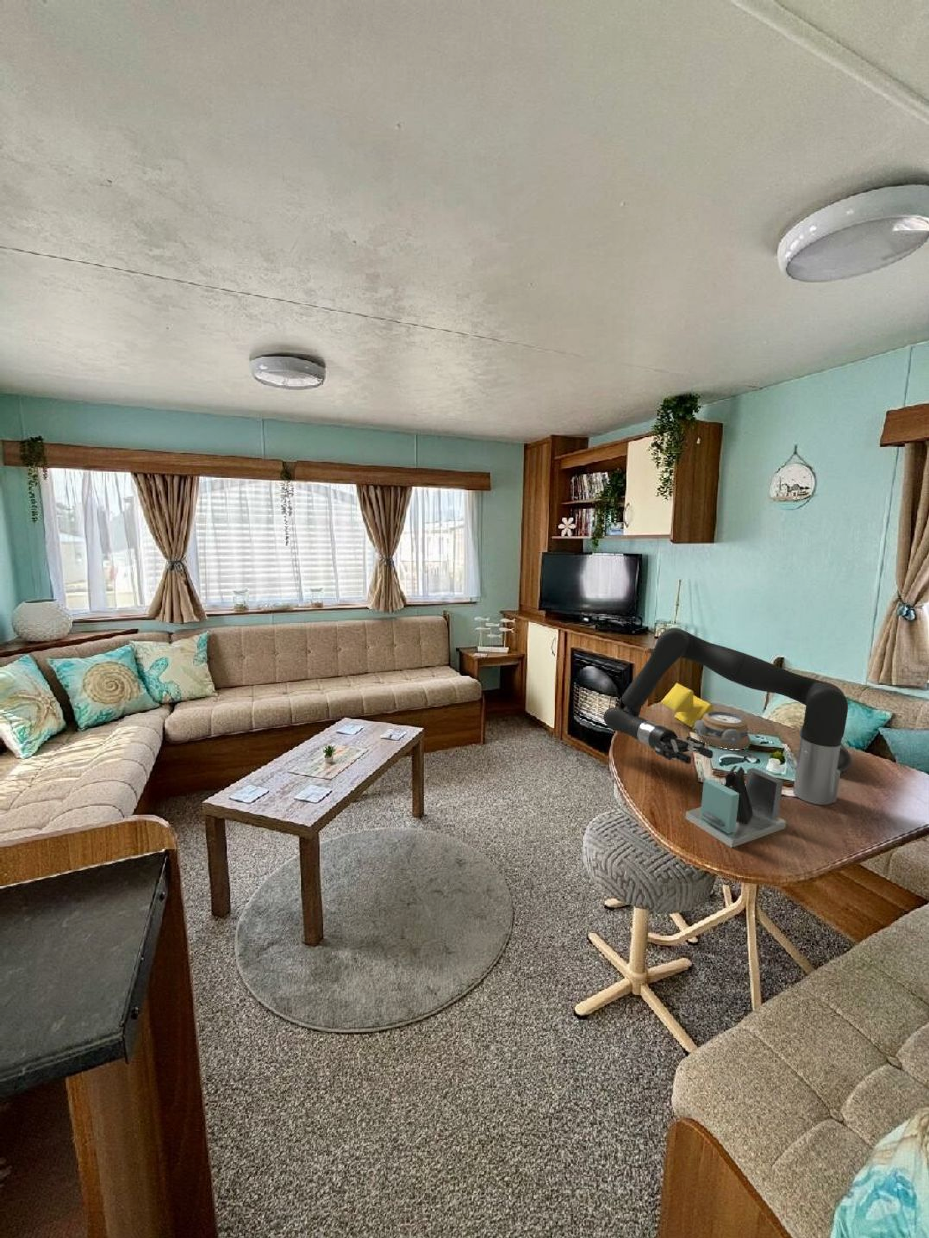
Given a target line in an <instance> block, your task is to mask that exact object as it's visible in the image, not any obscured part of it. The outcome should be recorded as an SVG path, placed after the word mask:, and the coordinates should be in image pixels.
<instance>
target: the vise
mask: <svg viewBox="0 0 929 1238" xmlns="http://www.w3.org/2000/svg"><path fill="white" fill-rule="evenodd" d="M783 785H784V780H781V779H780V778H777V777H775V776H773V775H770V774H769V773H766V772H764V771H762V770H759V769H757V768H755V767H752V768H748V769H746V778H745V786H746V789H747V793H748V797H749V800H750V804H751V807H752V811H753V814H752V816H751V818H750V820H749V822H748V823H747V824H746V823H743V822H740V821H737V820H736V827H735V832H732V833H729V834H727V833H726V832H724V831H722V830H721V829H719V828H718V827H716V826H714V825H713V824H711V823H709V822H708V821H706V820H705V819H703V818H701V817H700V814H701V806H699V807H696V808H693V809H689V810H686V811H685V820H687V821H688V822H691V823H692V824H693V825H695V826H697V827H698V828H700V829H701V830H703V831H704V832H706V833H708V834H709V835H711V836H712V837H714V838H715V839H717V840H719V841H720V842H721V843H724V845H726V846H728V847H730V848H731V849H732V847H733V848H735V847H737V846H741V845H742V844H746V843H749V842H751V841H755V840H757V839H760V838H762V837H765V836H768V835H770V834H773V833H776V832H780V831H783V830H784V829H786V825H787V824H786V823H787V821H786V820H785V819H782V818H781V817H779V814H780V807H781V799H782V793H783Z"/></svg>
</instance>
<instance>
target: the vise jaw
mask: <svg viewBox="0 0 929 1238" xmlns="http://www.w3.org/2000/svg"><path fill="white" fill-rule="evenodd" d="M724 785H725V784H722V783H720V782H718V781H716V780H714V779H712V778H708V779H705V780H703V785H702V795H701V806H700V807H701V814H700V817H701V818H703V819H705V820H706V821H708V822H709V823H711V824H713V825H714V826H716V827H718V828H719V829H721V830H722V831H724V832H726V833H727V834H729V833H732V832H735V827H736V818H737V810H738V801H739V793H737V792H735V790H733V789H731V788H730V789H729V788H727V787H726V786H724Z"/></svg>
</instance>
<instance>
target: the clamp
mask: <svg viewBox="0 0 929 1238" xmlns="http://www.w3.org/2000/svg"><path fill="white" fill-rule="evenodd" d="M660 703H661V704H662V705H664V706H666V707H667V708H669V709H671V710H672V711H674V712H676V713H675V715H673V717H674V718H675V719H677V720H679V721H680V722H682V723H683V724H685V725H686V726H687V727H689V728H691V729H693V728H694V725H695V722H696V721H698V720H702V719H703V715H704V714H706V713H709V712H714V711H718V710H717V709H715V708H714V706H713V705H712V704H711V703H709V702H707V701H705V700H703V699H701V698H700V697H697V696H696V695H694V691H693V690H692V689H689V688H688V687H685V686H684V685H682V684H680V683H678V682H676V683H675V684H674V686H673V687H672V688H671V689H670V690H669V691H668V693H667V694H666V695H665V696H664V698H663V699H662V700H661V701H660Z"/></svg>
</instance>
